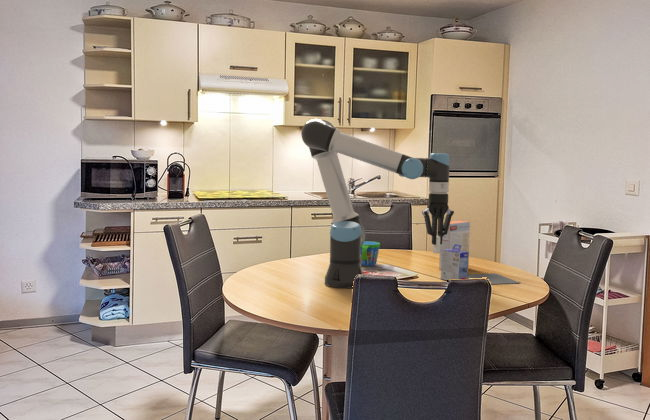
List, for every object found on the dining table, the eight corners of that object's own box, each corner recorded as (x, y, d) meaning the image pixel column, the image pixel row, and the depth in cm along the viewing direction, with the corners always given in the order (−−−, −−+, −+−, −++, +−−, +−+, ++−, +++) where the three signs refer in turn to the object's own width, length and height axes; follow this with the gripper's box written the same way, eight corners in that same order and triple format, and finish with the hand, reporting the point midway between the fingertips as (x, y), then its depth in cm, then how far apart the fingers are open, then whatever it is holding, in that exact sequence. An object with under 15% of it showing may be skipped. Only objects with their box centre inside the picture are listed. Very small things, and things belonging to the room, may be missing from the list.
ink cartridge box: (468, 282, 234) (469, 246, 233) (458, 284, 231) (460, 247, 230) (449, 277, 242) (451, 242, 241) (440, 279, 239) (441, 243, 238)
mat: (474, 285, 229) (474, 284, 229) (452, 275, 246) (452, 274, 246) (519, 283, 234) (520, 282, 234) (495, 273, 251) (495, 273, 251)
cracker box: (457, 266, 267) (459, 220, 265) (468, 268, 263) (471, 221, 261) (437, 269, 258) (439, 222, 256) (449, 271, 254) (451, 223, 252)
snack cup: (362, 261, 274) (363, 239, 273) (384, 263, 270) (385, 241, 269) (350, 267, 260) (351, 244, 259) (373, 269, 256) (373, 246, 255)
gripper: (427, 193, 226) (425, 254, 228) (458, 193, 229) (456, 253, 231) (419, 192, 233) (417, 251, 235) (449, 192, 236) (447, 250, 239)
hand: (436, 252), depth 233 cm, fingers closed
